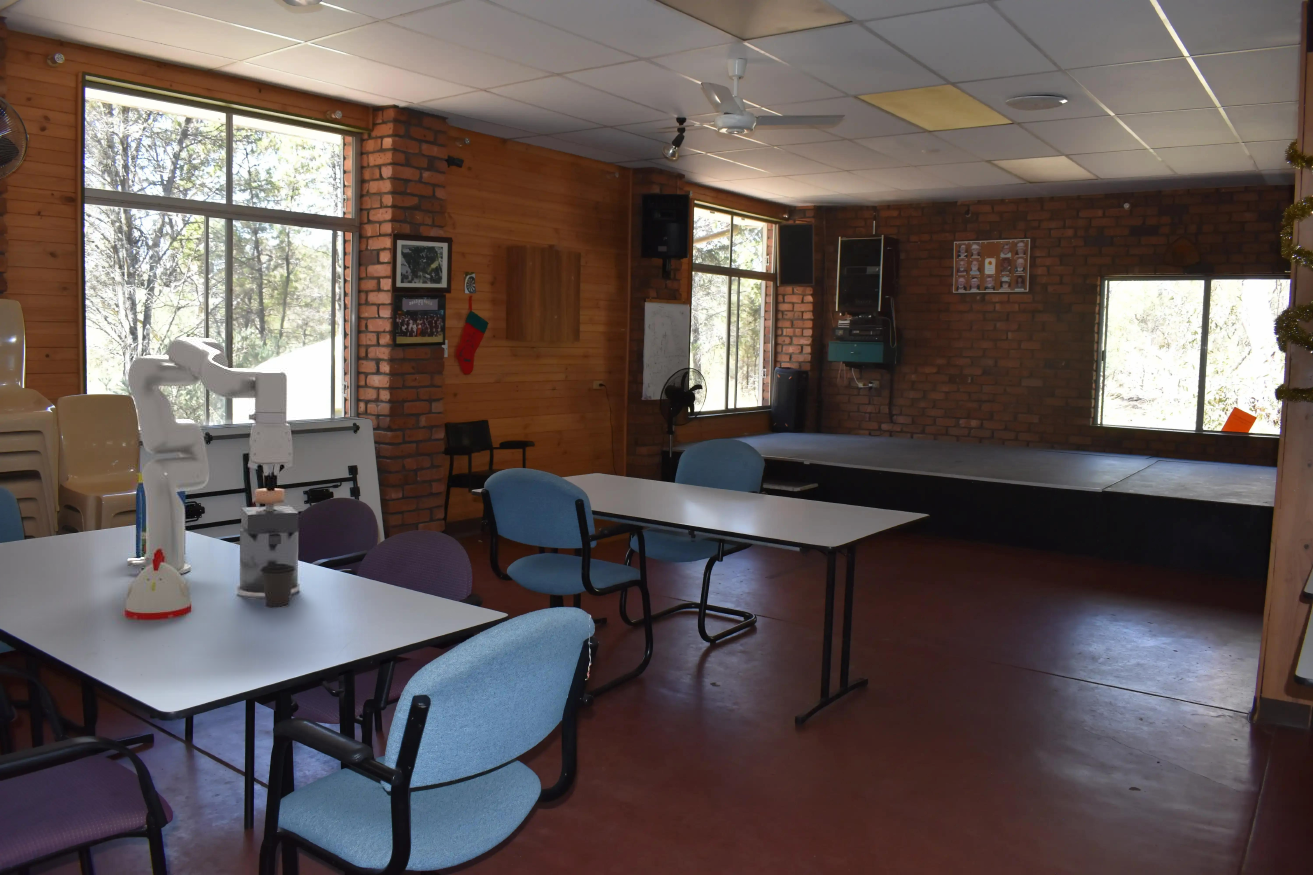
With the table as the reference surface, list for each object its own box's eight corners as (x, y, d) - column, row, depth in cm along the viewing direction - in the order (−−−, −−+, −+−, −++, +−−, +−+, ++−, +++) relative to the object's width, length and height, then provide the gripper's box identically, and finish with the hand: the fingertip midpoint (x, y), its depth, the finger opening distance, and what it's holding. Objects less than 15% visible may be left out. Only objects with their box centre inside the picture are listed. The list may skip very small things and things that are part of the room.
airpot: (243, 604, 236) (243, 517, 234) (233, 588, 252) (234, 506, 250) (306, 598, 244) (307, 515, 242) (294, 583, 259) (295, 504, 258)
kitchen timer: (117, 620, 218) (117, 555, 217) (133, 605, 231) (133, 544, 230) (184, 618, 222) (185, 554, 220) (196, 604, 235) (196, 543, 234)
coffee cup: (282, 610, 232) (283, 569, 231) (253, 607, 234) (253, 566, 233) (301, 602, 240) (302, 562, 239) (272, 599, 242) (273, 560, 241)
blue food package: (135, 556, 285) (135, 472, 283) (178, 551, 293) (179, 470, 291) (141, 559, 280) (141, 474, 278) (185, 555, 289) (185, 473, 287)
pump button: (257, 521, 243) (257, 492, 242) (253, 517, 249) (253, 488, 248) (286, 520, 246) (286, 491, 246) (281, 516, 252) (282, 487, 252)
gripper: (241, 419, 239) (240, 493, 240) (304, 420, 246) (303, 490, 247) (237, 418, 245) (237, 489, 246) (298, 418, 253) (298, 487, 254)
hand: (270, 489), depth 247 cm, fingers closed
